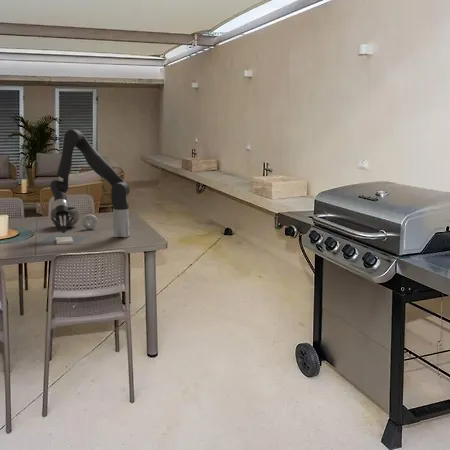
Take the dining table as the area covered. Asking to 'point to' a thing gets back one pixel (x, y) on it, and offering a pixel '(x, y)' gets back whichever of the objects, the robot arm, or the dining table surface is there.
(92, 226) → the donut
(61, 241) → the tile
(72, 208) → the bowl
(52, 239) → the mat
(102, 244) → the dining table surface
